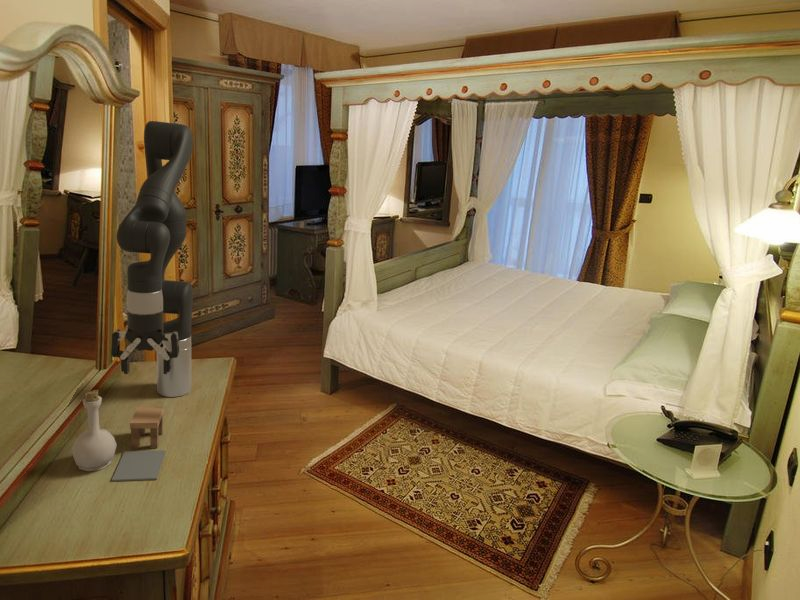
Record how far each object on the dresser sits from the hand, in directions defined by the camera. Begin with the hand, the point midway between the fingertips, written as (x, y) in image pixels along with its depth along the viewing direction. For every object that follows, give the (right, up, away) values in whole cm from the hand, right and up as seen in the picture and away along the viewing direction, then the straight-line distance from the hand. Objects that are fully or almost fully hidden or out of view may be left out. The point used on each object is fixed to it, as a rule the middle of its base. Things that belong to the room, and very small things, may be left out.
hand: (146, 372), depth 128 cm
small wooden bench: (-2, -17, +5) cm, 18 cm away
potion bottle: (-9, -20, -6) cm, 22 cm away
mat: (+1, -20, -5) cm, 21 cm away
